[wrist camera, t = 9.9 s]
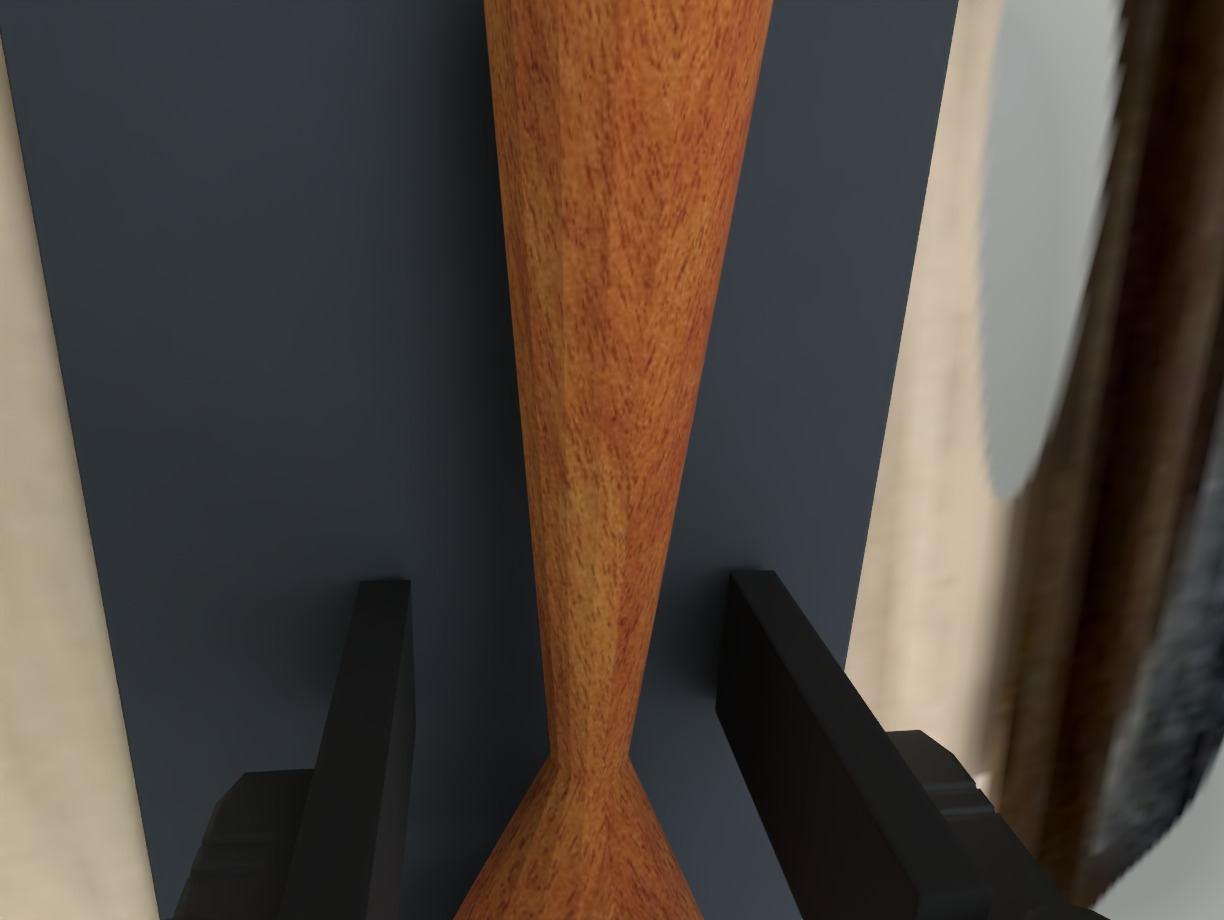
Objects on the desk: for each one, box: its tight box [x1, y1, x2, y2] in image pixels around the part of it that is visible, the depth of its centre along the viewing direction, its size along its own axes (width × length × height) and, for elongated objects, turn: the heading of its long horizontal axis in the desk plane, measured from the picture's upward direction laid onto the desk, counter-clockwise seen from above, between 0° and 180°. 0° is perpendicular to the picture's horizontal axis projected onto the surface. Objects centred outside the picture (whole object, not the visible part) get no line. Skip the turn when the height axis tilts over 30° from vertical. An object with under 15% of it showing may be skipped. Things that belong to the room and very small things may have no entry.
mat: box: [0, 0, 959, 920], centre depth 14 cm, size 24×12×1 cm, turn 177°
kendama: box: [453, 0, 774, 920], centre depth 12 cm, size 6×6×20 cm
